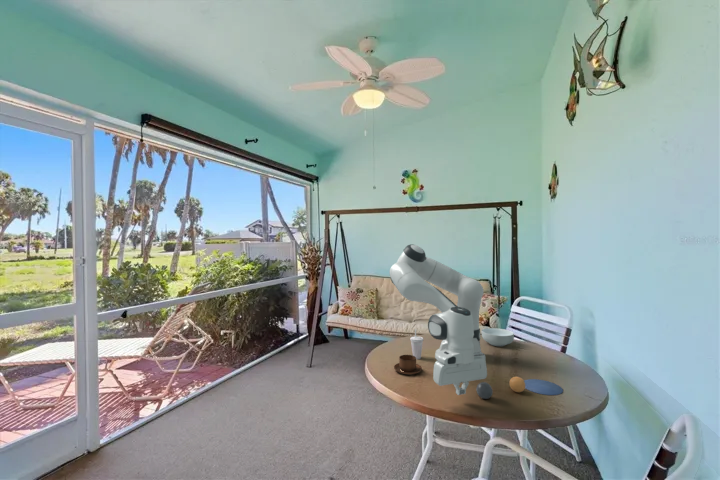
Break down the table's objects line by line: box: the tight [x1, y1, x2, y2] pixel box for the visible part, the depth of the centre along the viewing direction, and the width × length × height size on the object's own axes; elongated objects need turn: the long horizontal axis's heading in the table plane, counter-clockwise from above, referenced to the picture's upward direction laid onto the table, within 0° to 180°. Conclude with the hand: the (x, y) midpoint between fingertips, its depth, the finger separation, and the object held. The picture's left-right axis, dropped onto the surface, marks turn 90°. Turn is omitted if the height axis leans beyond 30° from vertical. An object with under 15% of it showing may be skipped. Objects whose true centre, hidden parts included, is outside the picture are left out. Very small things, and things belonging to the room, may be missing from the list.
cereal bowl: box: [480, 327, 515, 347], centre depth 185 cm, size 17×17×7 cm
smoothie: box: [410, 328, 424, 360], centre depth 164 cm, size 6×6×14 cm
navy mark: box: [523, 378, 564, 396], centre depth 130 cm, size 14×14×1 cm
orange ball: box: [509, 376, 526, 393], centre depth 126 cm, size 6×6×6 cm
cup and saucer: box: [393, 354, 423, 375], centre depth 148 cm, size 12×12×6 cm
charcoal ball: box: [476, 381, 494, 400], centre depth 122 cm, size 6×6×6 cm
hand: (460, 393), depth 118 cm, fingers closed
